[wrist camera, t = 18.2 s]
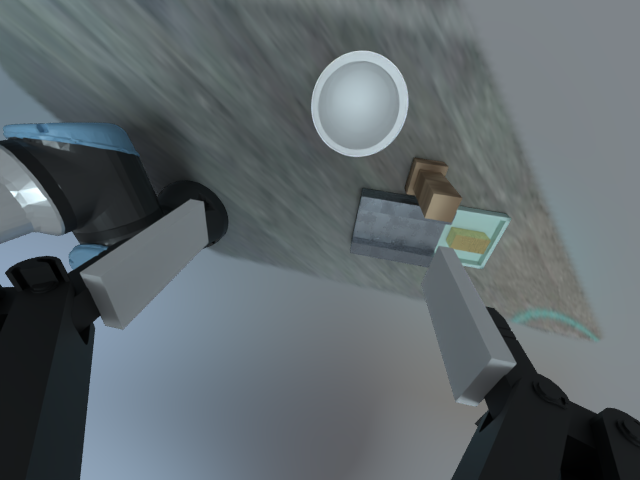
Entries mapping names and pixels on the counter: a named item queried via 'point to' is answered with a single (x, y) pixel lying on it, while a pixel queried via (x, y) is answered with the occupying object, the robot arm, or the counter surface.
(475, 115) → the counter surface
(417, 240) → the slot board
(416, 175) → the stepped wooden block
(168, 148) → the counter surface
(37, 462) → the robot arm
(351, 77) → the jar
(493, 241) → the tray
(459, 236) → the chip
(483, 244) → the yellow sponge cube
